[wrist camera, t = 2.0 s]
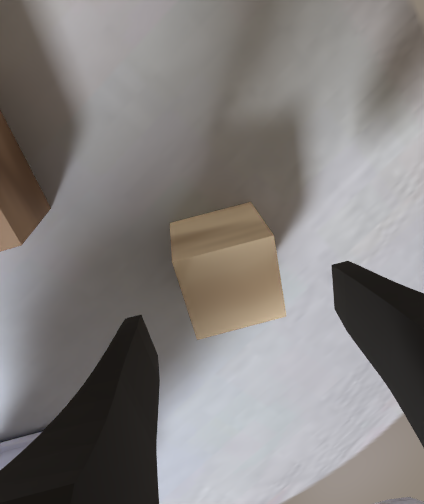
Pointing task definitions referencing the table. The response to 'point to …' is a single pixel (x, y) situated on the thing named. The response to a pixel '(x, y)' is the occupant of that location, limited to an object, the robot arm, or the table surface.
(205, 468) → the table surface
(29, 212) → the tan wooden block
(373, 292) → the robot arm
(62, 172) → the table surface
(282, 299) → the beech cube
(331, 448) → the table surface
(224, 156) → the table surface
